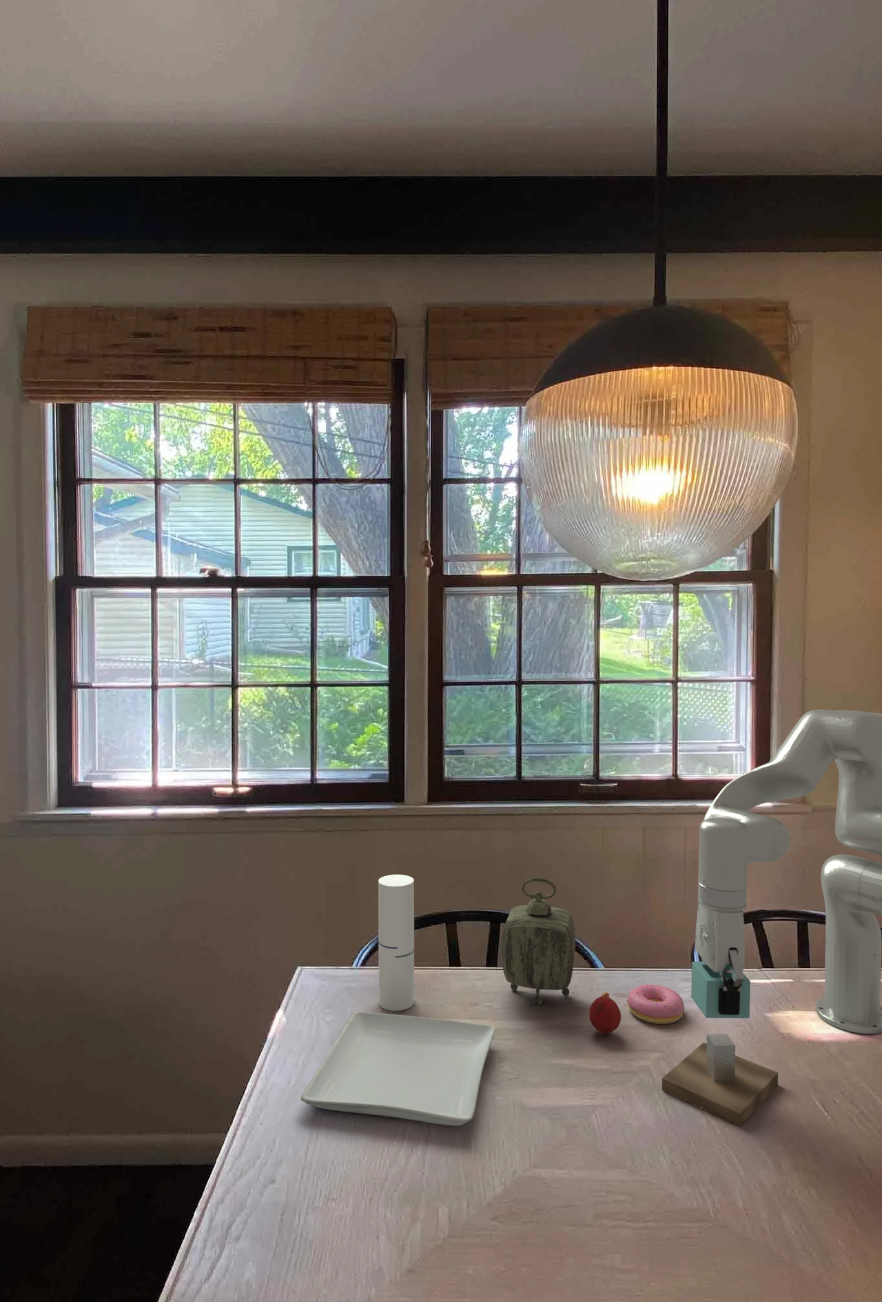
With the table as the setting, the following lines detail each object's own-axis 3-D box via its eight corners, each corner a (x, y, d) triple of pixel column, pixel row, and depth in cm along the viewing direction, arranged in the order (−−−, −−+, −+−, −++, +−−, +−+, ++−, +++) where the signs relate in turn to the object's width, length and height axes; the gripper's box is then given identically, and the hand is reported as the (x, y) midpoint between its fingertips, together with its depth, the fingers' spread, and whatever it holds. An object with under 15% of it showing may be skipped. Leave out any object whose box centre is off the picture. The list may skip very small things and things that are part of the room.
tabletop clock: (575, 993, 158) (575, 874, 157) (572, 1014, 149) (573, 889, 148) (506, 985, 161) (506, 869, 160) (499, 1006, 152) (500, 883, 151)
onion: (607, 1047, 138) (608, 1003, 137) (582, 1034, 142) (582, 992, 142) (626, 1035, 141) (627, 993, 141) (601, 1023, 146) (601, 982, 145)
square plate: (353, 1028, 145) (353, 1008, 145) (496, 1044, 139) (496, 1023, 139) (298, 1119, 118) (298, 1094, 118) (471, 1143, 113) (471, 1117, 112)
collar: (691, 997, 128) (691, 961, 128) (732, 997, 128) (733, 962, 128) (705, 1018, 121) (706, 980, 121) (749, 1018, 121) (750, 981, 121)
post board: (703, 1053, 135) (703, 1009, 135) (777, 1084, 126) (778, 1037, 126) (661, 1090, 125) (662, 1042, 124) (740, 1126, 116) (740, 1075, 115)
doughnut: (617, 1015, 149) (617, 994, 149) (642, 994, 158) (642, 974, 157) (670, 1034, 142) (670, 1012, 142) (693, 1011, 150) (693, 991, 150)
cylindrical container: (383, 992, 158) (382, 873, 157) (416, 994, 157) (416, 875, 156) (375, 1009, 151) (374, 885, 150) (410, 1012, 150) (410, 887, 149)
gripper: (682, 877, 133) (680, 978, 133) (719, 914, 116) (716, 1029, 116) (724, 878, 133) (722, 978, 133) (768, 915, 116) (765, 1030, 116)
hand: (719, 1001), depth 125 cm, fingers closed on collar, 7 cm apart
